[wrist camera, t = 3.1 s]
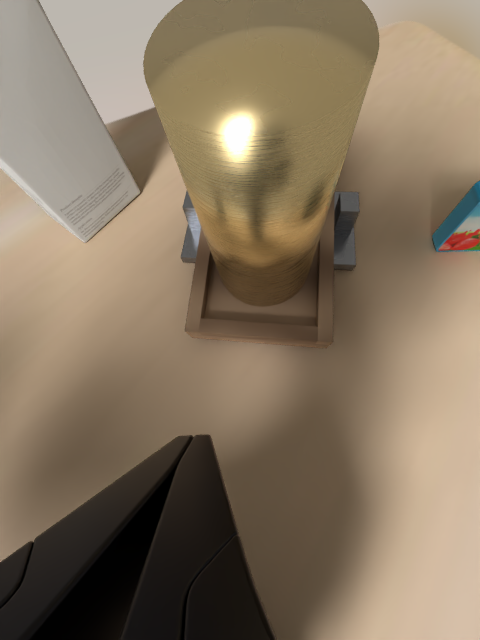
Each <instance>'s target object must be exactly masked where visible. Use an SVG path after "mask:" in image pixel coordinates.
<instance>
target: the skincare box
mask: <svg viewBox="0 0 480 640" xmlns="http://www.w3.org/2000/svg"><path fill="white" fill-rule="evenodd" d="M0 168H1V169H2V170H3V171H4V172H5V173H6V174H7V175H8V176H9V177H10V178H11V179H12V180H13V181H14V182H15V183H16V184H17V185H18V186H20V187H21V188H22V189H23V190H24V191H25V192H26V193H27V194H28V195H29V196H30V197H31V198H32V199H33V200H34V201H35V202H36V203H37V204H38V205H39V206H40V207H41V208H42V209H43V210H44V211H45V212H46V213H47V214H48V215H49V216H50V217H51V218H53V219H54V220H55V221H56V222H58V223H59V224H60V225H62V226H63V227H64V228H65V229H67V230H68V231H69V232H71V233H72V234H73V235H75V236H76V237H77V238H79V239H80V240H81V241H83V242H84V243H86V242H87V241H88V240H89V239H90V238H92V237H93V236H94V235H95V234H96V233H97V232H98V231H99V230H100V229H101V228H102V227H103V226H105V225H106V224H107V223H108V222H109V221H110V220H111V219H112V218H113V217H114V216H116V215H117V214H118V213H119V212H120V211H121V210H122V209H123V208H124V207H125V206H126V205H128V204H129V203H130V202H131V201H132V200H133V199H134V198H135V197H136V196H138V195H139V194H140V190H139V188H138V186H137V184H136V182H135V180H134V178H133V176H132V175H131V173H130V171H129V169H128V167H127V165H126V164H125V162H124V160H123V158H122V156H121V154H120V152H119V151H118V149H117V147H116V145H115V143H114V141H113V139H112V137H111V135H110V134H109V132H108V130H107V128H106V126H105V124H104V123H103V121H102V119H101V117H100V115H99V113H98V112H97V109H96V108H95V106H94V104H93V102H92V100H91V99H90V97H89V94H88V93H87V91H86V89H85V87H84V85H83V83H82V81H81V79H80V78H79V76H78V74H77V72H76V70H75V68H74V66H73V64H72V63H71V61H70V59H69V57H68V55H67V53H66V51H65V50H64V48H63V46H62V44H61V42H60V40H59V38H58V36H57V35H56V33H55V31H54V29H53V27H52V25H51V23H50V21H49V19H48V17H47V16H46V14H45V12H44V10H43V8H42V6H41V4H40V2H39V0H0Z"/></svg>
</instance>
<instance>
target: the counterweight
mask: <svg viewBox="0 0 480 640" xmlns="http://www.w3.org/2000/svg"><path fill="white" fill-rule="evenodd" d="M378 49H379V32H378V28H377V24H376V21H375V19H374V17H373V15H372V13H371V11H370V10H369V8H368V7H367V6H366V4H365V3H364V2H363V1H362V0H183V1H182V2H180V3H179V4H178V5H176V6H175V7H174V8H173V9H172V10H171V11H170V12H169V13H168V14H167V15H166V16H165V17H164V18H163V19H162V20H161V22H160V23H159V24H158V25H157V27H156V29H155V30H154V32H153V33H152V35H151V37H150V39H149V41H148V44H147V47H146V50H145V55H144V62H143V64H144V75H145V80H146V83H147V86H148V88H149V91H150V94H151V97H152V99H153V102H154V104H155V107H156V110H157V112H158V115H159V118H160V120H161V123H162V125H163V128H164V131H165V133H166V136H167V138H168V141H169V144H170V146H171V149H172V152H173V154H174V157H175V159H176V162H177V165H178V167H179V170H180V172H181V175H182V178H183V180H184V183H185V186H186V188H187V191H188V193H189V196H190V199H191V201H192V204H193V207H194V209H195V212H196V214H197V217H198V220H199V222H200V225H201V227H202V230H203V233H204V235H205V238H206V241H207V243H208V246H209V248H210V251H211V254H212V256H213V259H214V261H215V264H216V267H217V269H218V272H219V275H220V277H221V280H222V282H223V284H224V286H225V287H226V289H227V290H228V291H229V293H230V294H232V295H233V296H234V297H235V298H237V299H238V300H240V301H242V302H244V303H246V304H249V305H253V306H261V307H265V306H274V305H277V304H280V303H283V302H285V301H287V300H289V299H290V298H292V297H293V296H294V295H296V294H297V293H298V292H299V291H300V289H301V288H302V287H303V285H304V283H305V281H306V279H307V277H308V274H309V270H310V267H311V264H312V261H313V258H314V255H315V252H316V248H317V245H318V242H319V239H320V236H321V233H322V229H323V226H324V223H325V220H326V217H327V214H328V210H329V207H330V204H331V201H332V198H333V195H334V192H335V188H336V185H337V182H338V179H339V176H340V173H341V169H342V166H343V163H344V160H345V157H346V154H347V150H348V147H349V144H350V141H351V138H352V135H353V132H354V128H355V125H356V122H357V119H358V116H359V113H360V109H361V106H362V103H363V100H364V97H365V94H366V90H367V87H368V84H369V81H370V78H371V75H372V72H373V68H374V65H375V62H376V59H377V55H378Z"/></svg>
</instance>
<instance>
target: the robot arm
mask: <svg viewBox="0 0 480 640" xmlns="http://www.w3.org/2000/svg"><path fill="white" fill-rule="evenodd" d="M0 640H277V639H276V636H275V634H274V632H273V629H272V627H271V624H270V622H269V619H268V617H267V614H266V612H265V610H264V607H263V605H262V602H261V600H260V597H259V595H258V592H257V590H256V587H255V584H254V581H253V578H252V574H251V571H250V568H249V565H248V562H247V559H246V556H245V553H244V549H243V546H242V542H241V539H240V537H239V533H238V529H237V526H236V522H235V519H234V515H233V512H232V509H231V505H230V502H229V498H228V495H227V491H226V488H225V484H224V481H223V477H222V474H221V470H220V467H219V463H218V460H217V456H216V453H215V449H214V446H213V442H212V439H211V436H210V435H196V436H192V435H188V436H178V437H176V438H175V439H174V440H172V441H171V442H169V443H168V444H167V445H165V446H164V447H162V448H161V449H160V450H158V451H157V452H155V453H154V454H153V455H151V456H150V457H148V458H147V459H146V460H144V461H143V462H141V463H140V464H139V465H137V466H136V467H134V468H133V469H132V470H130V471H129V472H127V473H126V474H125V475H123V476H122V477H120V478H119V479H118V480H116V481H115V482H113V483H112V484H111V485H109V486H108V487H106V488H105V489H104V490H102V491H101V492H99V493H98V494H97V495H95V496H94V497H92V498H91V499H90V500H88V501H87V502H85V503H84V504H83V505H81V506H80V507H78V508H77V509H76V510H74V511H73V512H71V513H70V514H69V515H67V516H66V517H64V518H63V519H62V520H60V521H59V522H57V523H56V524H55V525H53V526H52V527H50V528H49V529H48V530H46V531H45V532H43V533H42V534H41V535H39V536H38V537H37V538H35V540H34V542H32V541H30V542H28V543H27V544H25V545H24V546H23V547H21V548H20V549H18V550H17V551H16V552H14V553H13V554H11V555H10V556H9V557H7V558H6V559H4V560H3V561H1V562H0Z"/></svg>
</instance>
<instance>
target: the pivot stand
mask: <svg viewBox="0 0 480 640" xmlns="http://www.w3.org/2000/svg"><path fill="white" fill-rule="evenodd" d="M183 210H184V213H185V215H186V218H187V221H188V227H187V231H186V236H185V240H184V245H183V249H182V254H181V259H182V261H183V262H186V263H195V262H196V256H197V250H198V243H199V237H200V231H201V225H200V222H199V220H198V217H197V214H196V212H195V209H194V207H193V204H192V201H191V199H190V196H189V193H188V191H187V192H186V196H185V200H184V204H183ZM359 212H360V211H359V195H358V192H335V196H334V269H338V270H353V269H354V267H355V266H356V258H355V239H354V224H355V221H356V219H357V216H358V214H359Z"/></svg>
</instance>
